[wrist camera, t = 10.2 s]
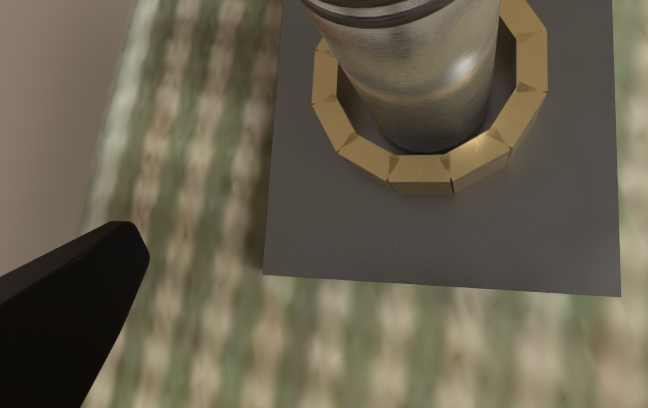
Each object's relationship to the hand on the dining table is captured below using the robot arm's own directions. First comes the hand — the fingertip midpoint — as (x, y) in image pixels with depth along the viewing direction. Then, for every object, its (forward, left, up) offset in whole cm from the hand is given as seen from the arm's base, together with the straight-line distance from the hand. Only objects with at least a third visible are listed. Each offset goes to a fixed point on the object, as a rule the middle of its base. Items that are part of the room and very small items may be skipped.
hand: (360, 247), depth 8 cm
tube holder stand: (+7, 0, -13) cm, 15 cm away
